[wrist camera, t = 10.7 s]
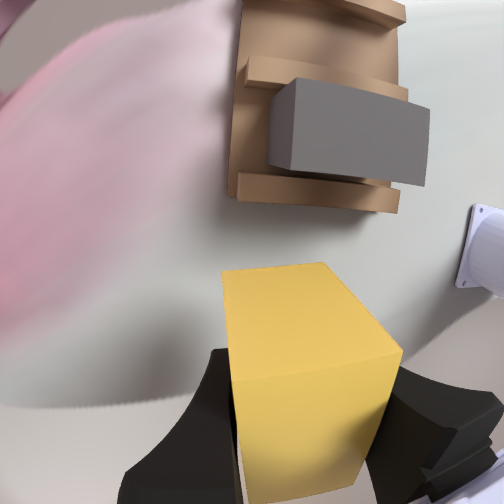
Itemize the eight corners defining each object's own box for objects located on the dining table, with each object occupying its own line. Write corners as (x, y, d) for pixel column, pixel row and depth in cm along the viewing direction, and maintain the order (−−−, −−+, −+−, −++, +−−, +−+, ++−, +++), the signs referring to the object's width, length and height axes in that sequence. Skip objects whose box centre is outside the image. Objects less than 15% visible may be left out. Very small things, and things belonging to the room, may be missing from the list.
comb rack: (390, 18, 16) (410, 7, 13) (381, 206, 20) (402, 215, 18) (244, -16, 14) (249, -36, 12) (226, 194, 19) (229, 201, 16)
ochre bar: (221, 271, 11) (231, 381, 6) (323, 261, 12) (403, 350, 6) (235, 400, 14) (249, 505, 8) (313, 389, 14) (352, 484, 9)
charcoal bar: (266, 163, 18) (290, 169, 12) (270, 99, 17) (296, 77, 11) (369, 174, 19) (424, 186, 13) (373, 116, 17) (429, 109, 12)
